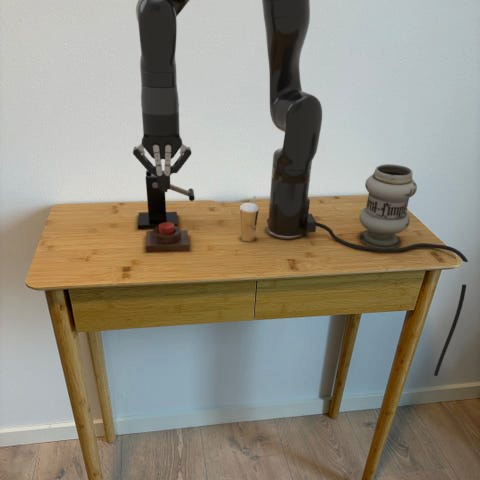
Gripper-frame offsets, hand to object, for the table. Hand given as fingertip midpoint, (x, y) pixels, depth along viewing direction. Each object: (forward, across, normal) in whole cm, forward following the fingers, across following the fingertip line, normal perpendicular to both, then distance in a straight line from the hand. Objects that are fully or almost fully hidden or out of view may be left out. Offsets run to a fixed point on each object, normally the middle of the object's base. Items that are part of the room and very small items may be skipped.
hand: (164, 190), depth 111 cm
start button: (+10, 0, 0) cm, 10 cm away
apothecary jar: (+13, +53, -1) cm, 55 cm away
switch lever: (+5, +1, +13) cm, 14 cm away
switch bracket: (+13, -2, +13) cm, 18 cm away
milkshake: (+13, +20, +2) cm, 24 cm away
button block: (+13, 0, 0) cm, 13 cm away
